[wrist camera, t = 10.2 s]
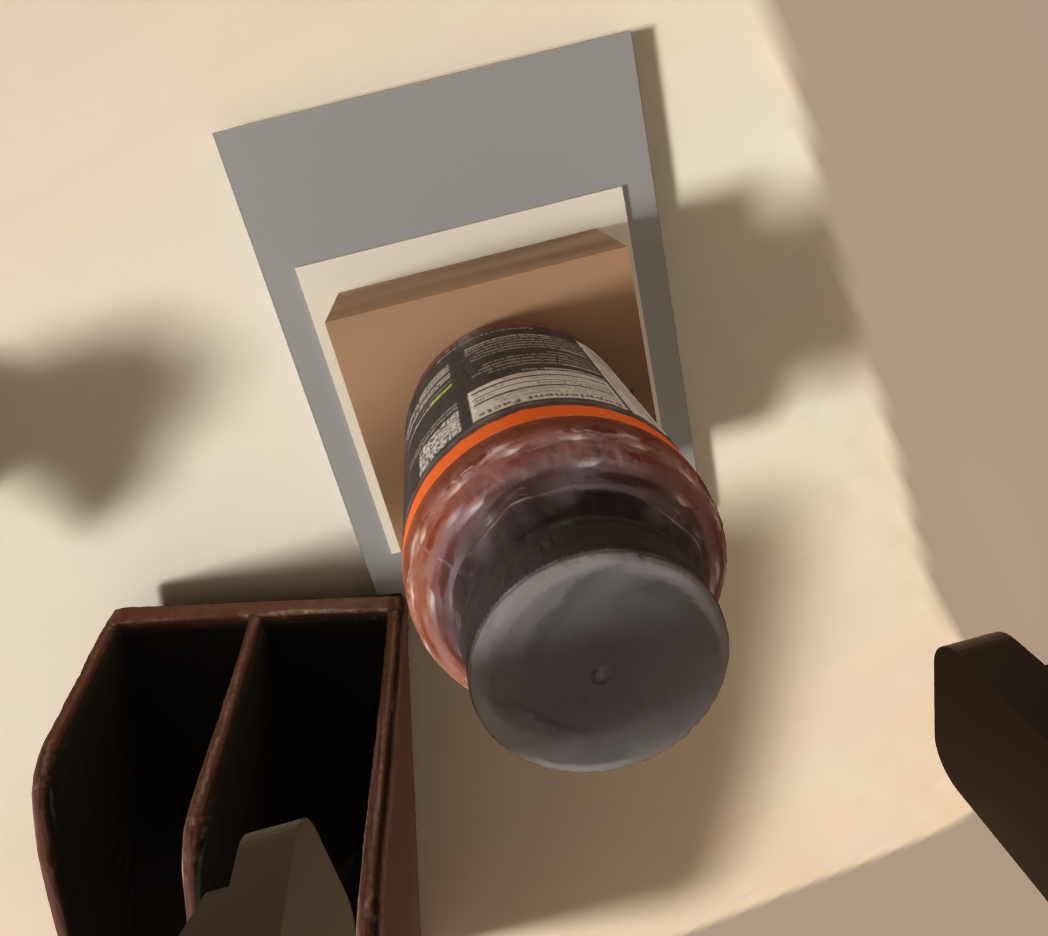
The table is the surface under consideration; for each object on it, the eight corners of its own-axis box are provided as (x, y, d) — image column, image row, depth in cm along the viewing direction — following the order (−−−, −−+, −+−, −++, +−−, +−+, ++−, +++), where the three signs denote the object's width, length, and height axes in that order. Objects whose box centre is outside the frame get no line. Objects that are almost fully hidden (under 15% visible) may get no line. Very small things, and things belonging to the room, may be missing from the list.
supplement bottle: (593, 529, 24) (729, 840, 13) (391, 504, 23) (370, 822, 12) (643, 334, 22) (850, 524, 11) (423, 295, 21) (430, 468, 10)
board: (218, 132, 23) (210, 133, 22) (623, 33, 23) (632, 29, 22) (381, 593, 29) (380, 608, 29) (696, 511, 30) (705, 523, 29)
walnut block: (338, 292, 24) (324, 322, 20) (595, 228, 24) (627, 246, 21) (411, 521, 27) (411, 582, 24) (638, 463, 28) (672, 515, 24)
